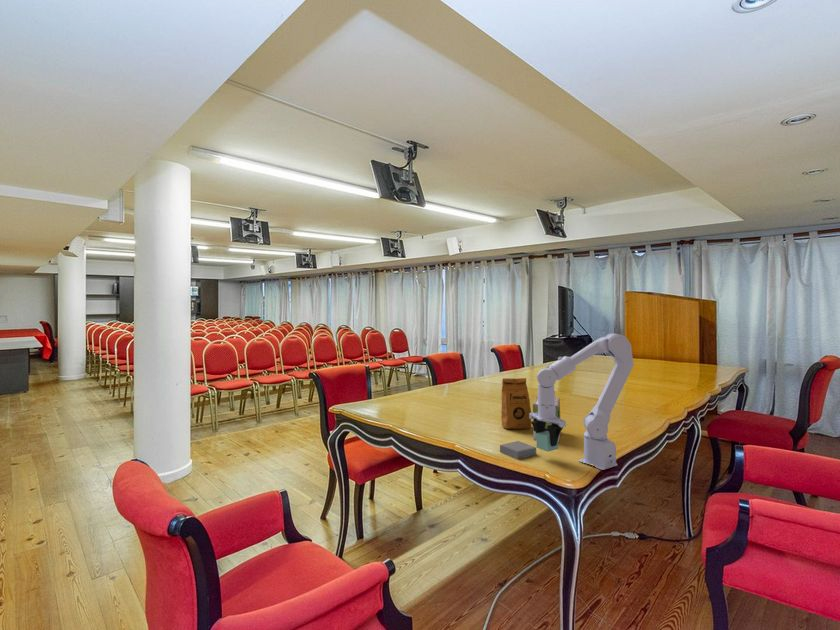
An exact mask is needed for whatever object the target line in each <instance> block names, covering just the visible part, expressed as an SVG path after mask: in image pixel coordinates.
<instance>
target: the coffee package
mask: <svg viewBox="0 0 840 630" xmlns="http://www.w3.org/2000/svg"><path fill="white" fill-rule="evenodd" d="M501 385H502V387H501V397H500V398H501V399H500V400H501V419H500V420H501V426H502V427H503V428H505V429H509V430H510V429H512V430H530V429H531V427H532V424H531V421H532V419H530V418H529V413H532V409H531V401H530V400H531V399H530V395H529V391H528V385H527V377H520V378H514V377H513V378H505V377H504V378H502V381H501Z"/></svg>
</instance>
